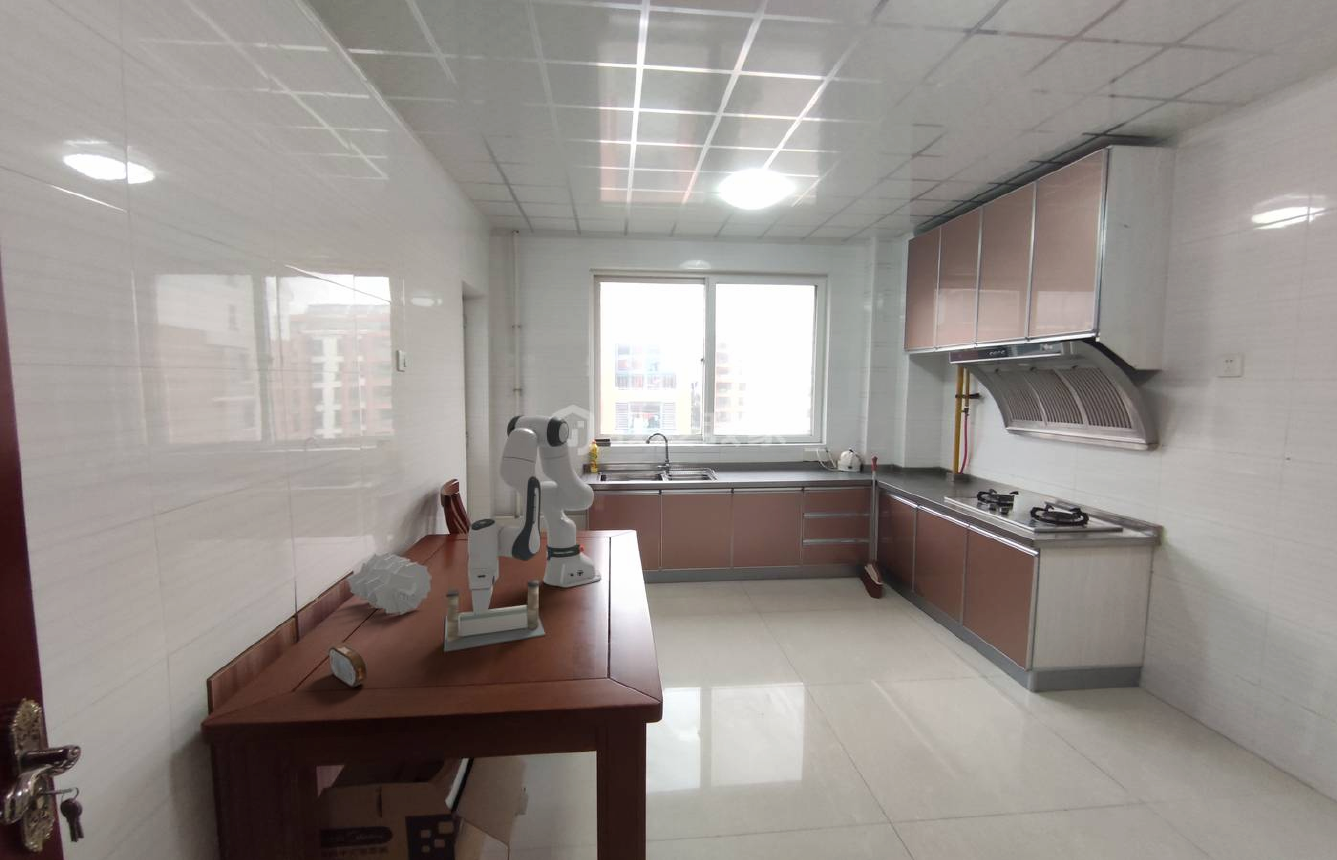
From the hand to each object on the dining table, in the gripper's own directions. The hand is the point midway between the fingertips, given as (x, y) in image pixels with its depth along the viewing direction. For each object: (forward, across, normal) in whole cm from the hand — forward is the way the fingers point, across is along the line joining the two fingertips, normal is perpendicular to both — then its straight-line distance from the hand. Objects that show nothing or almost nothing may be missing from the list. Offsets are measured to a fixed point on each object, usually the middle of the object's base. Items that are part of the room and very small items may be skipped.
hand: (484, 617), depth 156 cm
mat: (+4, -3, +2) cm, 6 cm away
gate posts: (+4, +3, +3) cm, 6 cm away
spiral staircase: (+4, -26, -32) cm, 42 cm away
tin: (+4, +21, -31) cm, 38 cm away
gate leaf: (+3, +3, +3) cm, 5 cm away
